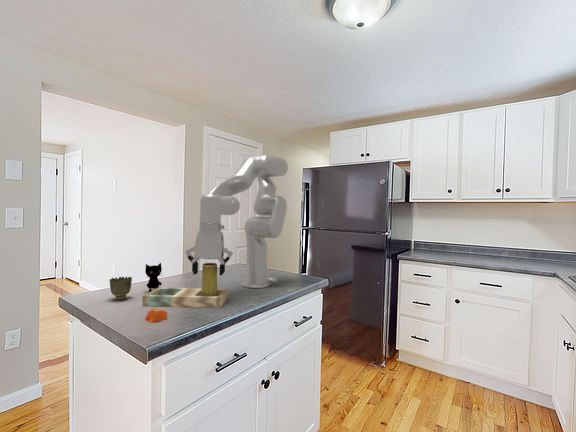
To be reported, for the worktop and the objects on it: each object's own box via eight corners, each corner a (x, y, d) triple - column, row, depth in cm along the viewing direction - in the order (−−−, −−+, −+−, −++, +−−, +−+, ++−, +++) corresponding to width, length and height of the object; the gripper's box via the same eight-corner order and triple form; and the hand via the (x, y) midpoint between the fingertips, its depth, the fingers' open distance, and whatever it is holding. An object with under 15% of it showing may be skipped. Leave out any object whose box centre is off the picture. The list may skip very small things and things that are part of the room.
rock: (160, 311, 100) (160, 299, 100) (184, 319, 93) (185, 305, 93) (125, 322, 89) (126, 309, 89) (150, 331, 83) (150, 316, 83)
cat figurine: (146, 295, 116) (147, 265, 116) (141, 291, 121) (141, 262, 121) (164, 292, 121) (165, 263, 121) (159, 288, 126) (159, 261, 126)
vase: (217, 304, 106) (217, 265, 106) (199, 305, 105) (200, 265, 105) (218, 299, 112) (219, 262, 112) (201, 300, 111) (202, 262, 111)
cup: (111, 297, 112) (111, 276, 112) (132, 295, 115) (132, 275, 115) (107, 303, 105) (107, 281, 105) (130, 301, 108) (131, 279, 108)
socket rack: (229, 297, 114) (229, 289, 114) (221, 307, 102) (221, 297, 102) (158, 296, 115) (158, 287, 115) (142, 305, 103) (142, 296, 103)
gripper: (235, 228, 112) (233, 273, 111) (190, 227, 112) (188, 271, 112) (231, 229, 104) (229, 277, 104) (183, 227, 105) (181, 275, 104)
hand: (208, 274), depth 108 cm, fingers open, 9 cm apart
